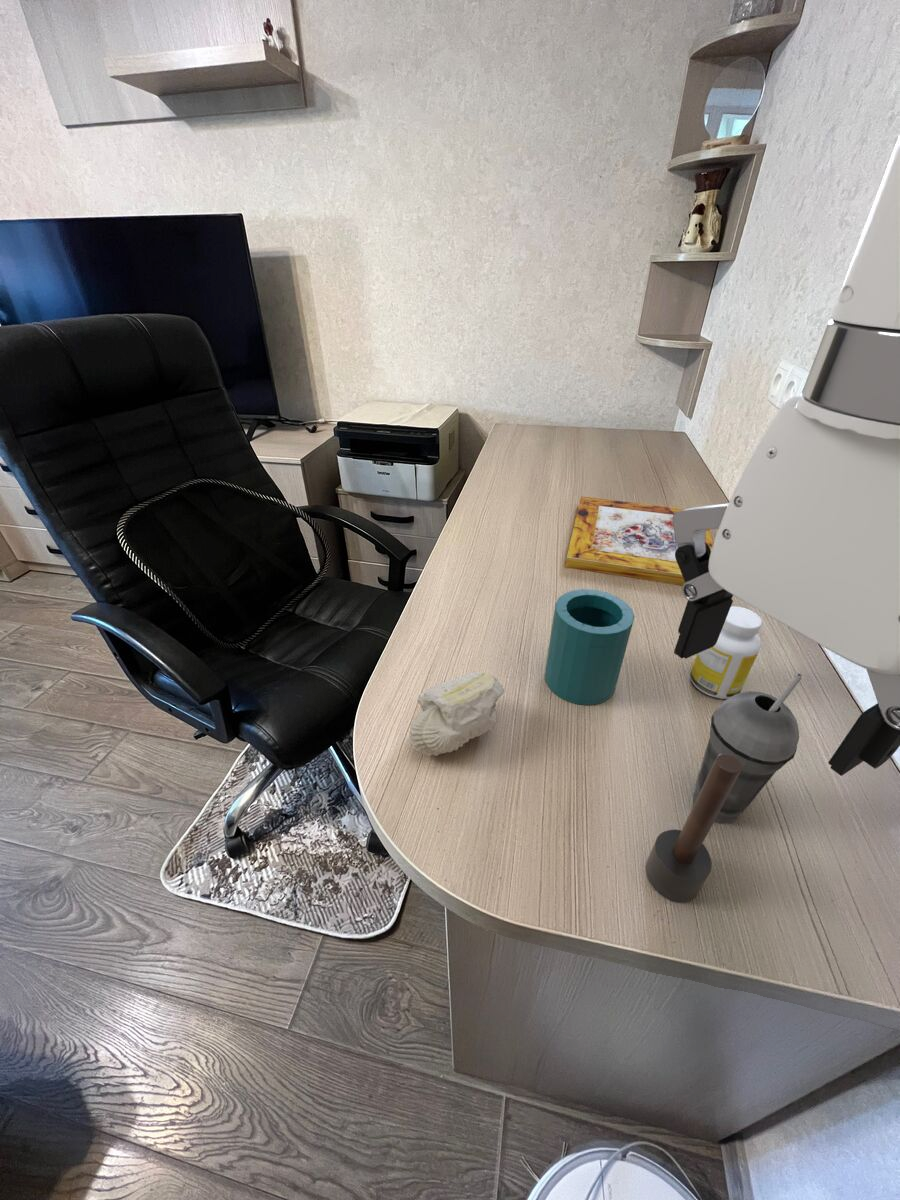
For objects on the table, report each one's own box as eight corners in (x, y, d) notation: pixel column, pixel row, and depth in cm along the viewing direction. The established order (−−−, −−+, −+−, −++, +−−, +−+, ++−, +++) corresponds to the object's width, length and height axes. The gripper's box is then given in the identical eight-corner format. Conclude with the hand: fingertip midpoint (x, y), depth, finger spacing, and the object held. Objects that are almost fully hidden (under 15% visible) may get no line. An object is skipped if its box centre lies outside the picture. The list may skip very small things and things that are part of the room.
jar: (620, 668, 72) (639, 599, 65) (608, 714, 64) (627, 642, 58) (555, 650, 75) (565, 582, 68) (536, 691, 68) (546, 621, 61)
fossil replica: (392, 749, 60) (465, 789, 56) (389, 707, 54) (470, 748, 51) (442, 682, 68) (509, 714, 65) (444, 639, 63) (517, 671, 59)
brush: (700, 863, 49) (763, 750, 39) (697, 912, 45) (766, 800, 35) (648, 843, 50) (696, 730, 41) (642, 888, 47) (693, 776, 37)
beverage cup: (715, 767, 58) (781, 631, 46) (769, 822, 52) (859, 683, 41) (665, 787, 56) (721, 649, 44) (715, 846, 50) (794, 706, 39)
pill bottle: (742, 679, 70) (773, 612, 63) (736, 708, 65) (769, 639, 59) (693, 662, 73) (717, 596, 66) (684, 689, 68) (709, 621, 62)
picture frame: (705, 511, 111) (723, 580, 87) (702, 520, 112) (719, 590, 88) (580, 496, 117) (566, 557, 94) (579, 504, 118) (565, 567, 95)
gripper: (1341, 425, 14) (978, 789, 24) (774, 344, 27) (687, 605, 37) (1275, 467, 11) (893, 861, 21) (674, 355, 24) (608, 634, 34)
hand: (762, 698), depth 29 cm, fingers open, 9 cm apart
